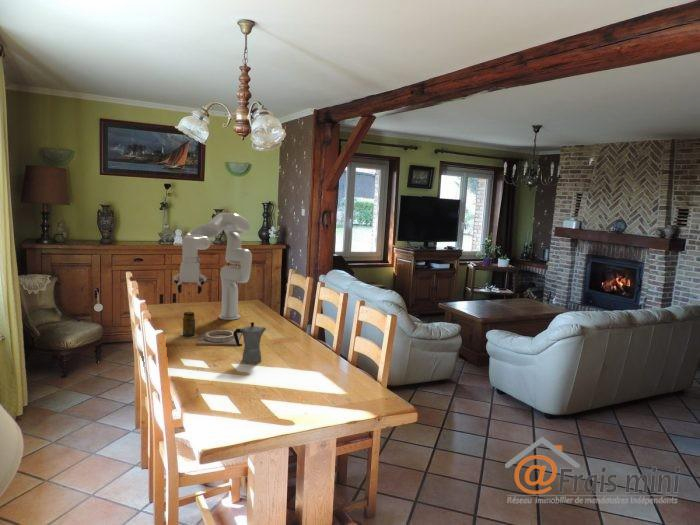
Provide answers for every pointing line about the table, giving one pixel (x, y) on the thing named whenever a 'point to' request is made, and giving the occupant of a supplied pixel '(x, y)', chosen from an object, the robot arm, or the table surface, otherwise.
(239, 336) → the holder
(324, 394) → the table surface
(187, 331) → the condiment
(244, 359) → the coffeepot
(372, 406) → the table surface
